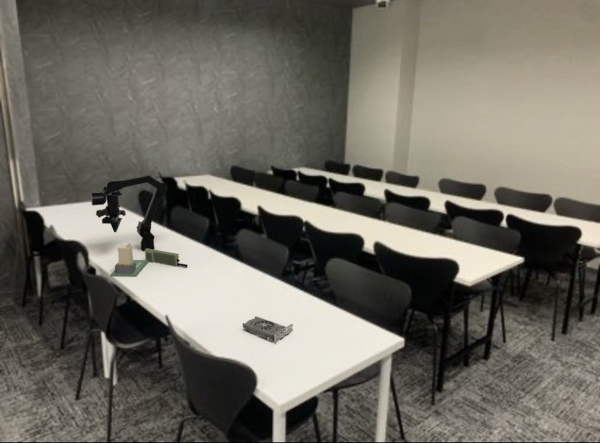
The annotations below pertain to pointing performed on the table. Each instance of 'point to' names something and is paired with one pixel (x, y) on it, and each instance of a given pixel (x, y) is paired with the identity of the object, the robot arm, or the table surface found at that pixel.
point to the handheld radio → (163, 257)
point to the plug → (125, 254)
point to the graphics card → (267, 329)
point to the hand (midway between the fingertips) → (115, 232)
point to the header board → (129, 268)
